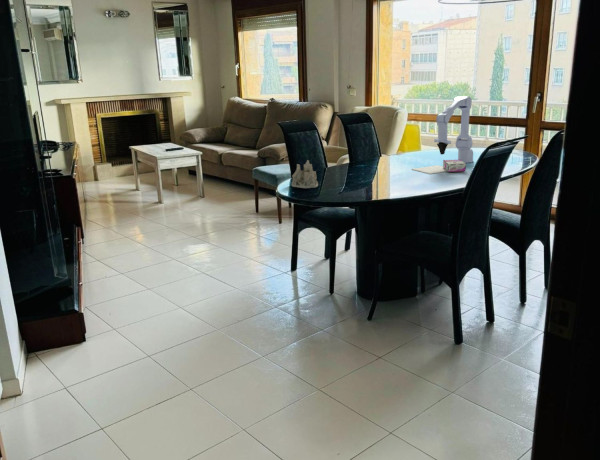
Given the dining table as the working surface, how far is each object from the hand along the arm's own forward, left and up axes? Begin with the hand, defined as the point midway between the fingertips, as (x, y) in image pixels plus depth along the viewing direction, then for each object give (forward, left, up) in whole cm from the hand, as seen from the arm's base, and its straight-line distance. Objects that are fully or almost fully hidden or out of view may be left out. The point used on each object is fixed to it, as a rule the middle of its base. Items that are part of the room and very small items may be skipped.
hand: (442, 154), depth 350 cm
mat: (+6, 0, -9) cm, 11 cm away
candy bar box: (-6, +2, -6) cm, 9 cm away
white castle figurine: (+93, -9, -10) cm, 94 cm away
